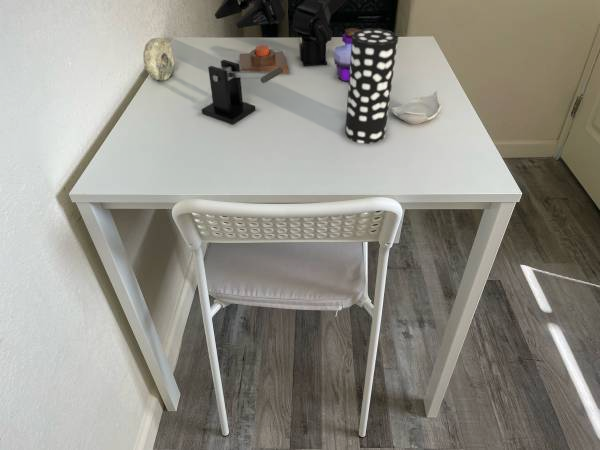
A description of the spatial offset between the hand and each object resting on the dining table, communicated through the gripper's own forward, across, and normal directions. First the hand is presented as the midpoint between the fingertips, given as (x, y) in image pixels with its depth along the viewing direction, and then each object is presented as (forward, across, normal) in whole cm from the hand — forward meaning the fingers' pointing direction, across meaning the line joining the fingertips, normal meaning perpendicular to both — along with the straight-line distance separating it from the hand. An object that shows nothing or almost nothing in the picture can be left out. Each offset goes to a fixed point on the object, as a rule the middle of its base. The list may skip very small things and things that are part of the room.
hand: (226, 21), depth 102 cm
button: (-8, -6, +16) cm, 19 cm away
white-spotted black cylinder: (-4, +35, +20) cm, 41 cm away
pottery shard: (-15, +38, +24) cm, 47 cm away
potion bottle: (-19, +12, +25) cm, 34 cm away
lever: (+8, +16, +5) cm, 18 cm away
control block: (-7, -7, +19) cm, 22 cm away
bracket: (+12, +9, +13) cm, 20 cm away
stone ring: (+16, -17, +11) cm, 25 cm away
